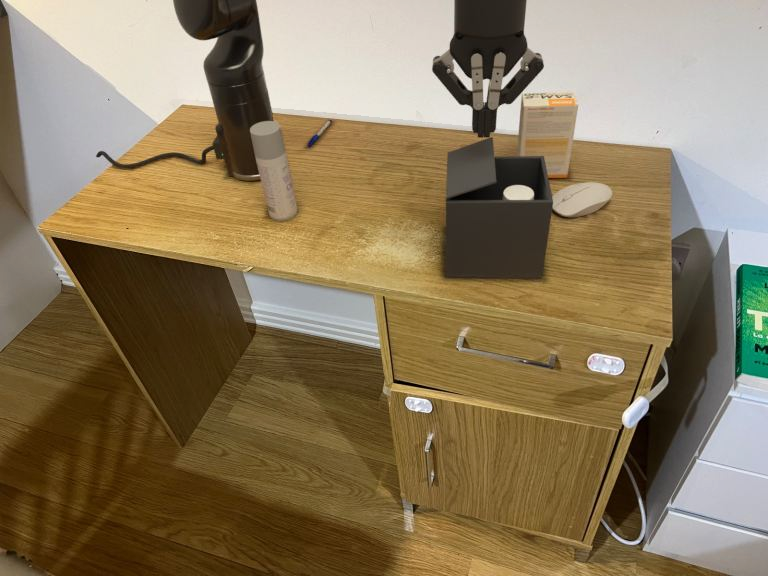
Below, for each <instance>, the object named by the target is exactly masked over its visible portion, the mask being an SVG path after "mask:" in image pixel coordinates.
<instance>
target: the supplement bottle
mask: <svg viewBox="0 0 768 576" xmlns="http://www.w3.org/2000/svg"><path fill="white" fill-rule="evenodd" d="M503 200H534V192H533V190H532V189H531V188H529V187H527V186H523V185H513V186H509V187H507V188H506V189H505V190H504V192H503Z"/></svg>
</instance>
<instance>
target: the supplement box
mask: <svg viewBox="0 0 768 576" xmlns="http://www.w3.org/2000/svg"><path fill="white" fill-rule="evenodd" d="M520 99H521V100H520V110H519V123H518V135H517V147H516V156H544V159H545V164H546V169H547V174H548V179H567V178H568V175H569V170H570V162H571V155H572V150H573V143H574V136H575V130H576V123H577V116H578V110H579V103H578V100H577V98H576V95H575V92H574V91H560V92H559V91H557V92H556V91H555V92H529V93H527V92H524V93H523V92H522V93H521V98H520Z"/></svg>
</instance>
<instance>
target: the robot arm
mask: <svg viewBox="0 0 768 576" xmlns="http://www.w3.org/2000/svg"><path fill="white" fill-rule="evenodd" d="M453 1H454V10H453V11H454V12H453V16H454V17H453V35H452V37H451V39H450V42H449V49H448V50H446V51H445V52H444V53H442V54H441V55H435V56H434V57H433V59H432V66H431V67H432V68H431V71H432V73H433V74H434V76H435V77H436V78H437V79H438V80H439V81H440V83H441V84H442V85H443V86H444V88H445V89H446V90H447V91H448V92H449V94H450V95H451V96H452V97H453V98H454V99H455V101H456V102H457V103H458V104H459V105H460V106H468V107H470V108H471V111H472V113H471V115H472V117H471V130H472V132H473V134H477V139H478V138H490V137H491V134H492V133H493V134H494V133H495V131H496V130H497V118H498V109H499V108H500V106H503V105H505V104H506V105H511V104H513V103H514V102H515V100H517V99H518V97H519V96H521V95H522V94H523V92H524V91H525V90H526V88H527V87H528V86H529V85H530V84H531V83H532V82H533V81H534V80H535V79H536V78H537V77H538V75H539V74H540V73H541V72H542V71H543V69H544V67H545V64H544V59H543V56H542V54H541V53H540V52H534V51H533V50H532V49H530V48H529V47H528V40H527V38H526V36H525V22H526V14H527V13H526V11H527V0H453ZM172 3H173V8H174V11H175V15H176V18H177V20H178V23H179V24H180V27H181V28H182V29H183V31H184V32H185V33H186V34H187V35H188V36H189V37H191V38H192V39H194V40H197V41H210V40H213V39H216V41H215V44H214V45H213V48H212V49H211V50H210V51H209V53H208V54H207V55H206V56H205V57H204V60H203V63H202V65H203V66H202V67H203V72H204V75H205V79H206V82H207V85H208V89H209V94H210V97H211V100H212V103H213V109H214V111H215V115H216V120H217V124H216V125H215V133H216V136H215V138H214V139H213V141H212V143H211V144H212V145H210V146H208V147H206V148H205V149H204V150H202V152H201V159H195V158H193V157H191V156H190V155H187V154H185V153H181V152H173V151H172V152H166V153H161V154H158V155H155V156H152V157H149V158H147V159H144V160H140V161H137V162H134V163H127V164H126V163H119V162H118V161H116V160H114V159H113V158H112V157H111V156H110V155H109V154H108V153H107V152H106V151H104V150H99V151H98V152H97V153H96V155H95V157H96V158H100V157H102V156H103V158H105V159H106V161H108V162H109V163H110V164H111V165H113V166H115V167H117V168H120V169H135V168H138V167H141V166H145V165H147V164H151V163H153V162H155V161H159V160H161V159H165V158H170V157H171V158H172V157H178V158H181V159H184V160H187V161H189V162H191V163H194V164H197V165H203V164H206V161H207V155H208V154H209V153H210V152H211V151H213V152H214V154H215V158H216V160H223V161H224V165H225V169H226V172H227V176H228V177H232V178H233V177H234V178H236V179H238V180H239V181H240V180H241V181H245V182H256V181H261V179H260V175H259V171H258V166H257V162H256V158H255V153H254V148H253V143H252V139H251V134H250V128H251V127H252V126H253V125H255V124H257V123H259V122H263V121H274V122H275V119H274V118H275V117H274V115H273V114H274V113H273V109H272V104H271V100H270V94H269V89H268V85H267V80H266V75H265V70H264V65H263V58H264V53H265V52H264V51H265V50H264V41H263V40H264V39H263V34H262V28H261V21H260V13H259V7H258V3H257V0H172ZM454 61H455V63H457V65H458V67H459V68H460V69H461V71H462V72H463V74H464V75H465V76H466V77H467V78H469V79H470V80H471V88H472V89H471V90H470V89H468V88H467V86H466V85H465V84H464V83H463V81H462V80H461V79H460V78H459V77H458V75H457V74H456V73H455V72H454V70H455V63H454ZM519 61H520V62H519ZM518 63H519V65H520V66H519V67H520V68H519V70H517V72H516V73H515V74H514V75H513V76H512V77H511V79H510V80H509V81H508V82H507V83H506V84H505V86H504V87H503V88H502V86H503V78H505V77H506V76H507V77H508V75H509V74H510V73H511V71H512V70H513V69H514V67H515V66H516V65H517V64H518ZM484 80H488V87H487V94H486V101H485V102H484Z"/></svg>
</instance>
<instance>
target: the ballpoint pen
mask: <svg viewBox="0 0 768 576" xmlns="http://www.w3.org/2000/svg"><path fill="white" fill-rule="evenodd" d="M331 124H332V120H331V119H329V120H328V121H326V123H325V124H324V125H323V126H322V128H320V129H319V130H318V132H317V133H316V134H314V135H313V136H312V137H311V138H310V140H309V141H308V142H307V145H306V147H308V148H310V147H311V146H312V145H313V144H314V143H315V142H316V141H317V140H318V139H319V137H321V135H322V134H323V133H324V132H325V130H326V129H327V128H328V127H329V126H330V125H331Z"/></svg>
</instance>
